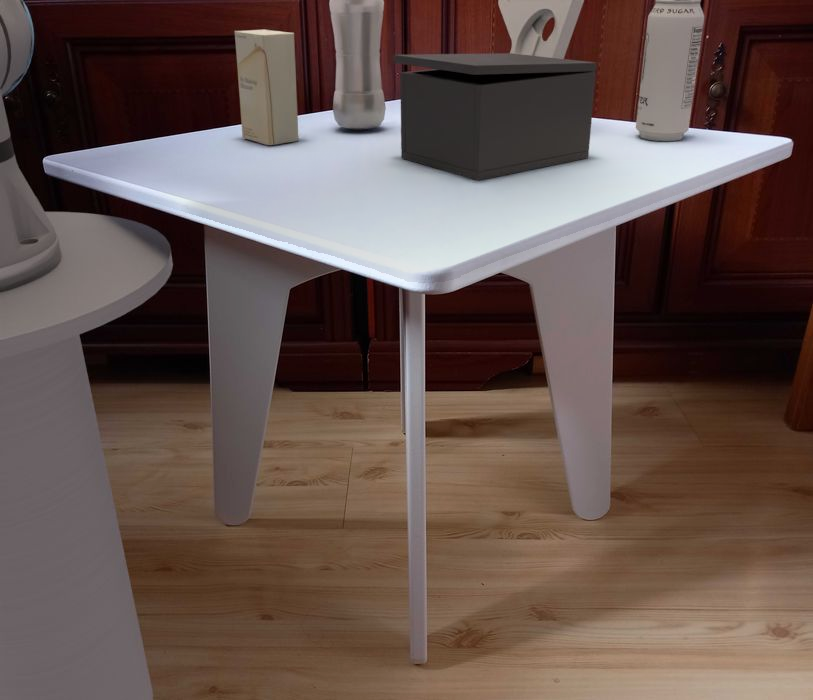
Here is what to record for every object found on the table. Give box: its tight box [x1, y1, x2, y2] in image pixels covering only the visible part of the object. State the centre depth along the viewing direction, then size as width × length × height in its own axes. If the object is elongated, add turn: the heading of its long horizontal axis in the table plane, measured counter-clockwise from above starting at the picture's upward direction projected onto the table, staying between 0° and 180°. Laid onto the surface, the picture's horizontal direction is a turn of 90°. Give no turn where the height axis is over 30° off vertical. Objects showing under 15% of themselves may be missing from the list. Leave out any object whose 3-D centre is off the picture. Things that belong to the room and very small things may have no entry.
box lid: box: [393, 52, 598, 75], centre depth 82 cm, size 16×13×1 cm
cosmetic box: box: [234, 29, 299, 146], centre depth 94 cm, size 6×4×12 cm
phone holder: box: [497, 0, 585, 59], centre depth 100 cm, size 17×10×18 cm, turn 25°
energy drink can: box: [635, 0, 705, 142], centre depth 92 cm, size 6×6×15 cm
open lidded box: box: [399, 68, 597, 181], centre depth 84 cm, size 16×13×9 cm
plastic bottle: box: [328, 0, 387, 131], centre depth 98 cm, size 6×7×20 cm
